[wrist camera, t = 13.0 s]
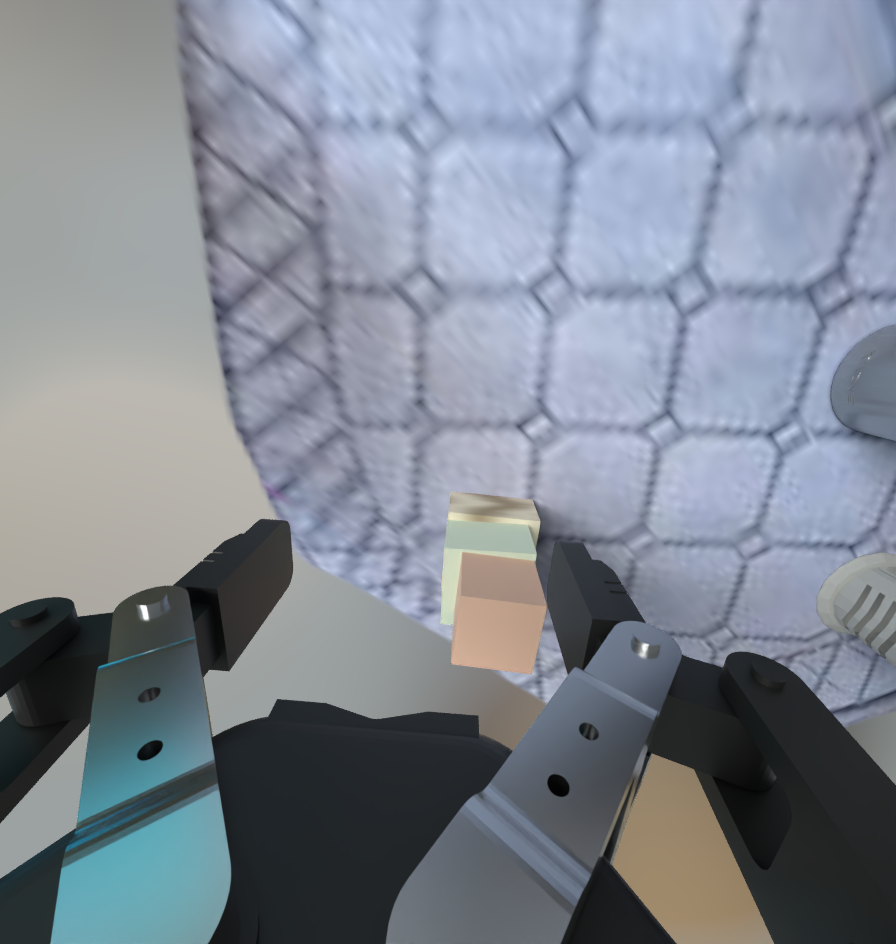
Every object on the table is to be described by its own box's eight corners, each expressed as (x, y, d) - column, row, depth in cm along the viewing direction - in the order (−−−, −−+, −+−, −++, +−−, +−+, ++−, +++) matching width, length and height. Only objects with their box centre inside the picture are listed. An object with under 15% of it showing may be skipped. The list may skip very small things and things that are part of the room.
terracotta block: (534, 560, 31) (547, 606, 26) (521, 620, 33) (531, 674, 28) (462, 551, 31) (460, 595, 26) (453, 611, 33) (451, 663, 28)
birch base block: (532, 499, 40) (540, 521, 36) (520, 569, 43) (526, 599, 38) (451, 491, 40) (448, 512, 36) (443, 561, 43) (440, 590, 38)
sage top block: (527, 524, 36) (536, 554, 31) (519, 592, 38) (526, 630, 33) (447, 519, 36) (444, 548, 31) (444, 587, 38) (440, 624, 33)
